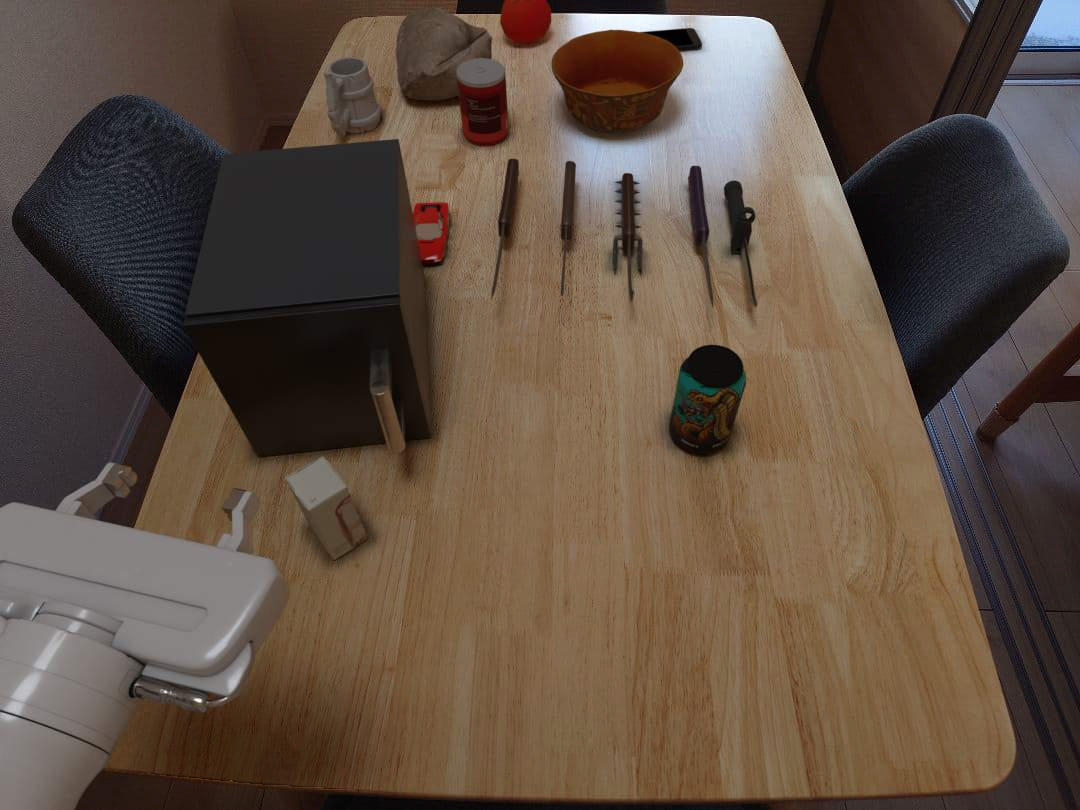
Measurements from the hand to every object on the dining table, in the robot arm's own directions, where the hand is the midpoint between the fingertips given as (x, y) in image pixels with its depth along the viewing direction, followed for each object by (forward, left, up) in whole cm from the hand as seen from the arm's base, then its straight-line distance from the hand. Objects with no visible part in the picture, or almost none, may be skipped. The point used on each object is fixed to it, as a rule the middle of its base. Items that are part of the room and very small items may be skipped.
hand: (185, 481), depth 52 cm
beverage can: (+18, -45, -28) cm, 56 cm away
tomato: (+114, -35, -28) cm, 123 cm away
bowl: (+85, -47, -28) cm, 101 cm away
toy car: (+57, -15, -28) cm, 66 cm away
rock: (+99, -19, -28) cm, 105 cm away
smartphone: (+108, -60, -28) cm, 127 cm away
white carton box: (+11, -4, -28) cm, 30 cm away
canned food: (+83, -25, -28) cm, 92 cm away
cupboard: (+36, -4, -28) cm, 46 cm away
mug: (+88, -3, -28) cm, 93 cm away
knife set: (+50, -42, -28) cm, 71 cm away
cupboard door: (+19, -4, -28) cm, 34 cm away
